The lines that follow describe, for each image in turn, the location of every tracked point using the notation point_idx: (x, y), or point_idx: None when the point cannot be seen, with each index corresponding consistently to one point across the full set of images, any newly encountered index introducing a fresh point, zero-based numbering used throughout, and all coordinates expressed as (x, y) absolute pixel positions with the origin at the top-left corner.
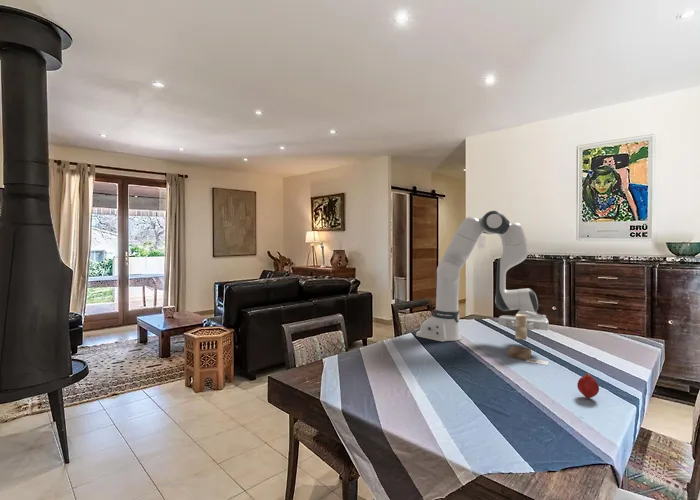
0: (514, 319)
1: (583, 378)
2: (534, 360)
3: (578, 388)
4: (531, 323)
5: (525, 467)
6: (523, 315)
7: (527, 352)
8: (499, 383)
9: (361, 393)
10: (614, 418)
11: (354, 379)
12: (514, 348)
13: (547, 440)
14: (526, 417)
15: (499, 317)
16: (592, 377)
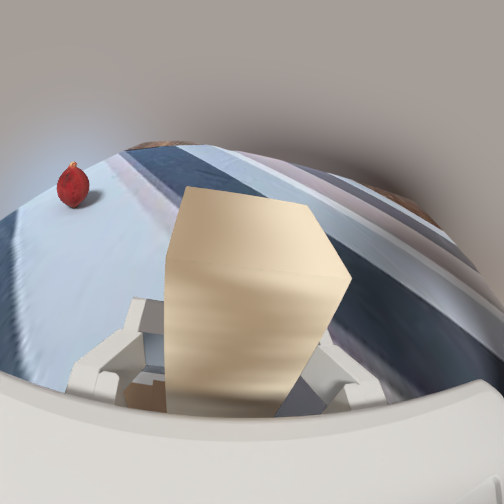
0: (364, 410)
1: (81, 170)
2: (129, 399)
3: (88, 189)
4: (104, 347)
5: (180, 146)
6: (222, 213)
7: (161, 384)
8: None
9: (340, 185)
10: None
11: (375, 202)
12: None
13: (161, 157)
14: (177, 170)
15: (492, 387)
16: (66, 169)
